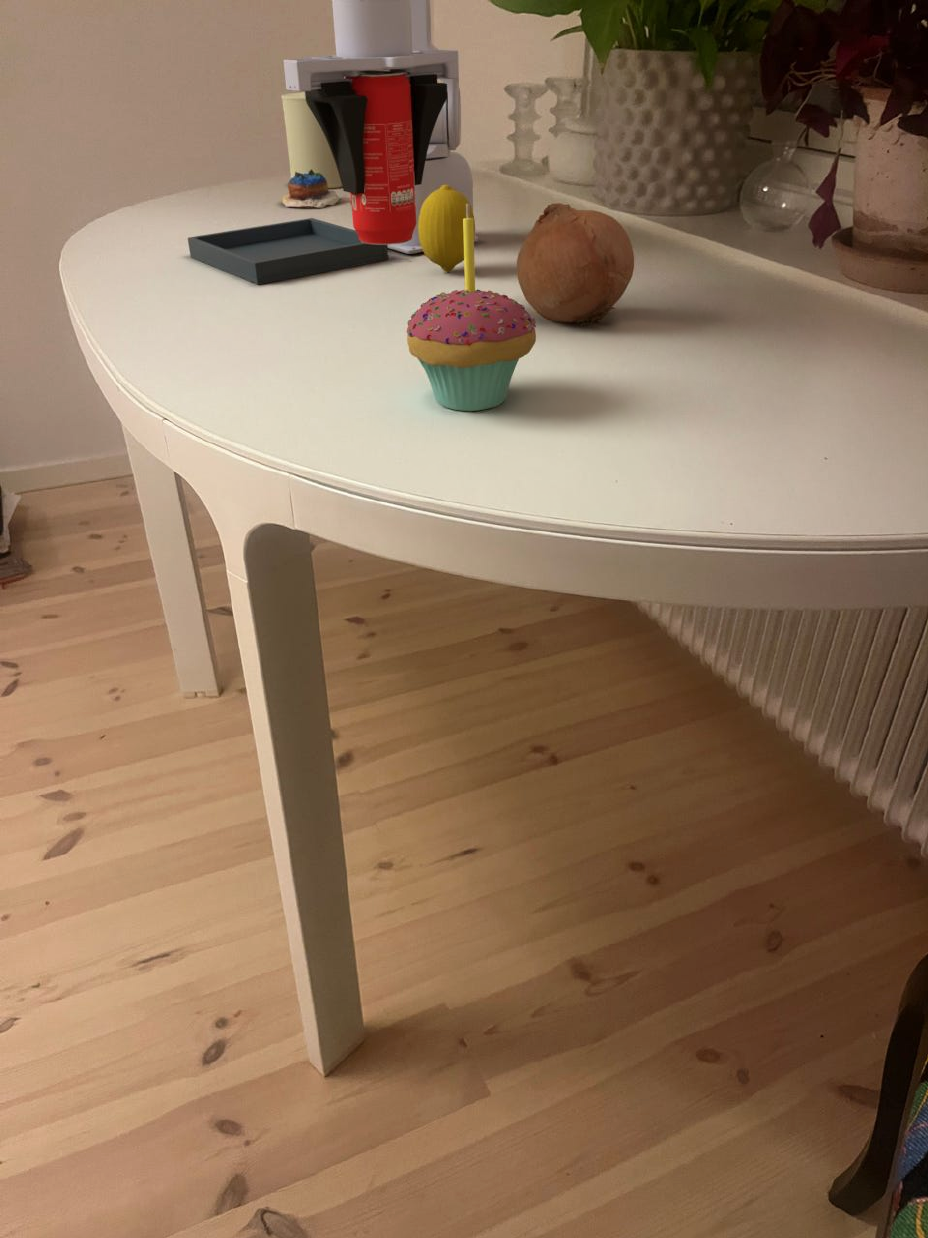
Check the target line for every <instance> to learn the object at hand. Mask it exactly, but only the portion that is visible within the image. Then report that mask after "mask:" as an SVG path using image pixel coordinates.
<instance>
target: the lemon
mask: <svg viewBox="0 0 928 1238" xmlns="http://www.w3.org/2000/svg"><path fill="white" fill-rule="evenodd" d="M466 204H469V209H470V218H473V223H474V240H475V236H476V220H475V216H474V210H473V211H472V208H471V205H470V203H469V201H468V200H467V199H466V197H465V196H464V195H463V194H461V193H460V192H458V191H456V190H454V189H452V188H451V187H450V185H446V184H445V185H442V186H441V187H440V189H438V190H436V191H434V192H433V193H431V194H430V195H429V196H428V197H427V198H426V200H425V201H424V203H423V205H422V207H421V210H420V215H419V222H418V234H419V240H420V244H421V247H422V249H423V253H424V255H425V256H426V257H427V259H428V260H429V261H431V262H432V263H433V264H436V265H437V266H439V267H440V268H441V269H442V270H443V271H444V272H445V273H451V272H452V271H453V269H455V267H456V266H458V265H459V264H461V263H463V262H464V233H463V219H464V218H467V215H466Z"/></svg>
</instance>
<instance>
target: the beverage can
mask: <svg viewBox="0 0 928 1238" xmlns="http://www.w3.org/2000/svg"><path fill="white" fill-rule="evenodd" d="M406 73H407V72H406V71H404V72H402V71H398V70H367V71H361V74H360V75H359V76H356V77H350V76H345V77H344V78H351V79H353V81H352V82H351V90H355V94H356V95H364V96H366V97H367V99H368V101H367V107H366V113H365V121H364V133H363V156H364V172H365V187H364V193H361V194H354V193H350V204H351V217H352V227H353V228H354V229H353V230H356V232H357V234H358V237H359V241H360V242H362V243H366V244H372V245H391V244H399V243H404V242H408V241H410V240H411V239H412V234H413V231H414V229H415V226H416V204H415V181H414V158H413V135H412V112H411V89H410V83H409V81H408V79H407V77H406Z"/></svg>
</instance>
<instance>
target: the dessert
mask: <svg viewBox="0 0 928 1238" xmlns="http://www.w3.org/2000/svg"><path fill="white" fill-rule="evenodd" d="M287 189H288V193H287V194H286V195H284V196H283V198H282V203H283V205H284V206H285V207H288V208H289V207H297V208H301V207H314V208H320V209H321V208H325V207H326V206H328V205H329V206H335V204H336V203H337V202H339V199H340V197H339V195H338V193H337V192H336V191H335V190H330V189H328V184H327V180H326V178H325V177H323V175H321V174H320V173H314V172H313V170H312V169H311V170H310V171H309V173H308V174H305V173H304V174H300V173H297V172H295V176H294V177H293V178H291V177H290V179H289V181H288V183H287Z"/></svg>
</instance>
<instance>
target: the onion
mask: <svg viewBox="0 0 928 1238" xmlns="http://www.w3.org/2000/svg"><path fill="white" fill-rule="evenodd" d="M634 253H635V252H634V247H633V245H632V242H631V239H630V237H629V235H628V233H627V231H626V230H625V229H624V227H623V226H622V225H621V223H619V222H618V220H616V219H615V218H614V217H613V216H611V215H609V214H606V213H604V212H602V211H599V210H590V209H577V208H574V207H571V204H563V203H559V202H557V203H551V204H547V207H546V208H544V210H543V214H540V215H539V216H538V219H536V221H535V223H534V225H533V227H532V229H531V230H530V231H529V233H528V234H527V235H526V236H525V238H524V240H523V242H522V244H521V246H520V249H519V251H518V255H517V258H516V275H517V280H518V281H517V282H518V284H519V287H520V290H521V292H522V294H523V298H524V299H525V301H526V302H527V303H528V305H529V306H530V307H531V308H532V309H533V310H534V311H535V312H536V313H537V314H538V315H540V316H541V317H542V318H544V319H546V320H548V321H554V322H560V323H572V324H575V325H577V326H584V325H585V326H586V325H589V324H592V323H593V324H594V323H596V324H599V322H600V321H603V319H604V317H605V316H607V315H608V314H609V313H610V312H611V311H612V310H614V309H615V307H614V306H615V305H616V303H618V301H619V300H620V299H621V297H622V296H623V295H624V293H625V291H626V290H627V288H628V286H629V284H630V283H631V280H632V277H633V275H634V270H635V254H634Z"/></svg>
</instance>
